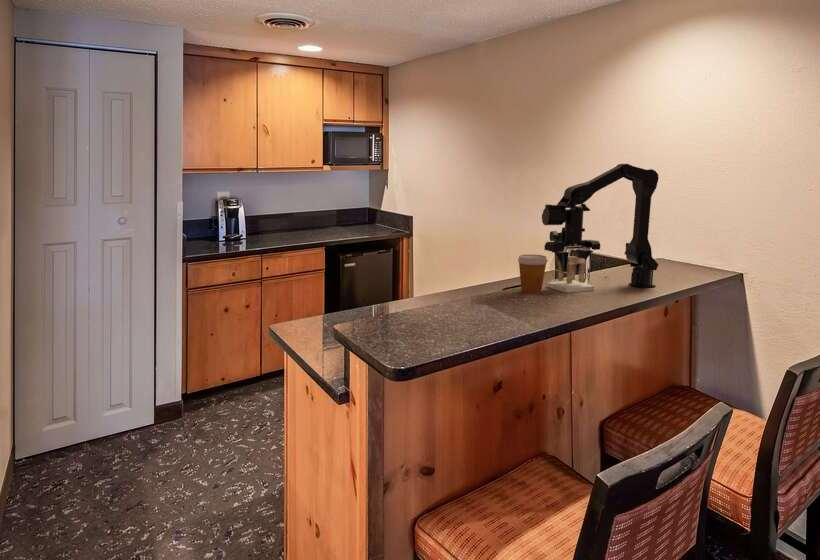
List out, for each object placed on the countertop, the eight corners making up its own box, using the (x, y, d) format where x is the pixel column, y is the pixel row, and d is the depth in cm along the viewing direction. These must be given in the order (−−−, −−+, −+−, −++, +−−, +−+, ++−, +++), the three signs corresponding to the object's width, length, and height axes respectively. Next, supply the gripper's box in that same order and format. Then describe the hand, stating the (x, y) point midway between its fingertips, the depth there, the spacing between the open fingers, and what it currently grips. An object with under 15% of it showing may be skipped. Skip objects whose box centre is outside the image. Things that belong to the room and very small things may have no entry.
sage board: (573, 284, 199) (573, 280, 199) (594, 290, 189) (594, 286, 189) (547, 286, 196) (547, 282, 195) (566, 292, 185) (566, 288, 185)
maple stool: (572, 279, 196) (574, 256, 194) (583, 282, 190) (585, 258, 189) (558, 280, 194) (559, 257, 192) (568, 283, 188) (570, 259, 187)
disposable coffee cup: (544, 289, 190) (545, 254, 188) (548, 295, 181) (549, 258, 179) (515, 289, 191) (516, 254, 189) (517, 295, 182) (519, 258, 180)
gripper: (581, 222, 199) (579, 265, 202) (536, 223, 193) (534, 269, 195) (602, 224, 189) (599, 270, 192) (555, 226, 182) (553, 274, 185)
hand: (571, 271), depth 191 cm, fingers closed on maple stool, 6 cm apart
